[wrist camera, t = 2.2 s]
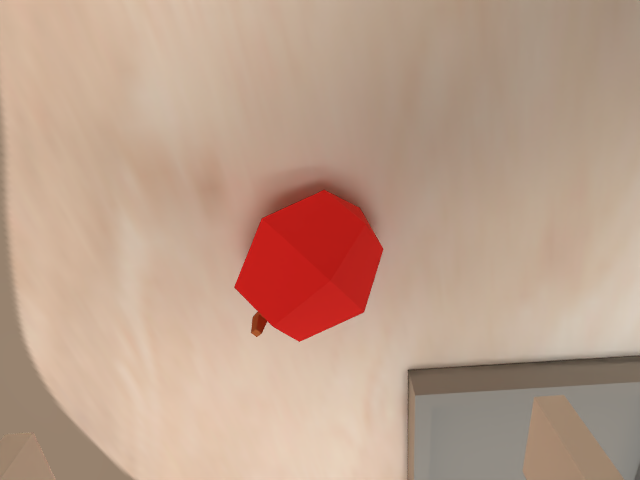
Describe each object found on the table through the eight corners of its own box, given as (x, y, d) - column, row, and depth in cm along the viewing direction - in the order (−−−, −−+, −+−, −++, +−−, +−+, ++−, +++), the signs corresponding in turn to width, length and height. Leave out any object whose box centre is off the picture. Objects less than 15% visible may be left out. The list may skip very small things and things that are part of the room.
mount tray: (680, 353, 28) (708, 377, 26) (625, 528, 35) (643, 558, 33) (408, 370, 28) (415, 395, 26) (407, 539, 35) (412, 569, 33)
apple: (349, 168, 17) (209, 319, 17) (435, 269, 21) (319, 398, 20) (290, 149, 23) (185, 260, 23) (364, 230, 27) (273, 328, 26)
